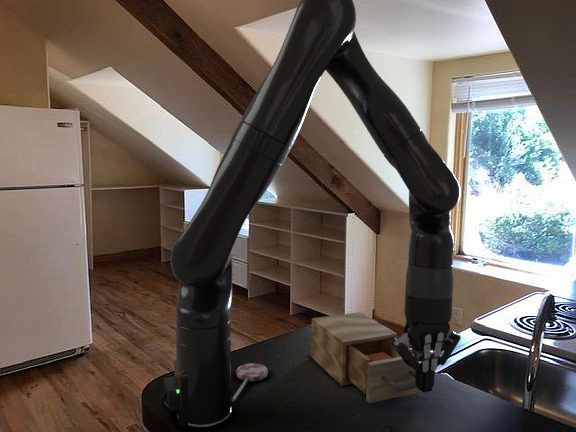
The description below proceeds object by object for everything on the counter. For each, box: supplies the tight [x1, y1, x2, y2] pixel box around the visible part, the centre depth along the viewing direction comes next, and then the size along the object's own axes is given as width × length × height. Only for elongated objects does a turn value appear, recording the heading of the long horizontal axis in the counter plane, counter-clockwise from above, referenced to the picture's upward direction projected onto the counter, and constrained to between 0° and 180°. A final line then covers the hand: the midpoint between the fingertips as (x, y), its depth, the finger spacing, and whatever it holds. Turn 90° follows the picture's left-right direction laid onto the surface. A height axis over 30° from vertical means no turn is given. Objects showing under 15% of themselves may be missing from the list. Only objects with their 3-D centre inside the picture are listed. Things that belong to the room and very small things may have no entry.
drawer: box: [346, 338, 422, 404], centre depth 92 cm, size 18×11×7 cm, turn 22°
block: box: [365, 352, 392, 362], centre depth 93 cm, size 4×4×4 cm
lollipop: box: [231, 362, 269, 402], centre depth 95 cm, size 7×1×15 cm
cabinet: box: [310, 311, 398, 386], centre depth 103 cm, size 15×13×9 cm
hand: (424, 389), depth 81 cm, fingers closed
